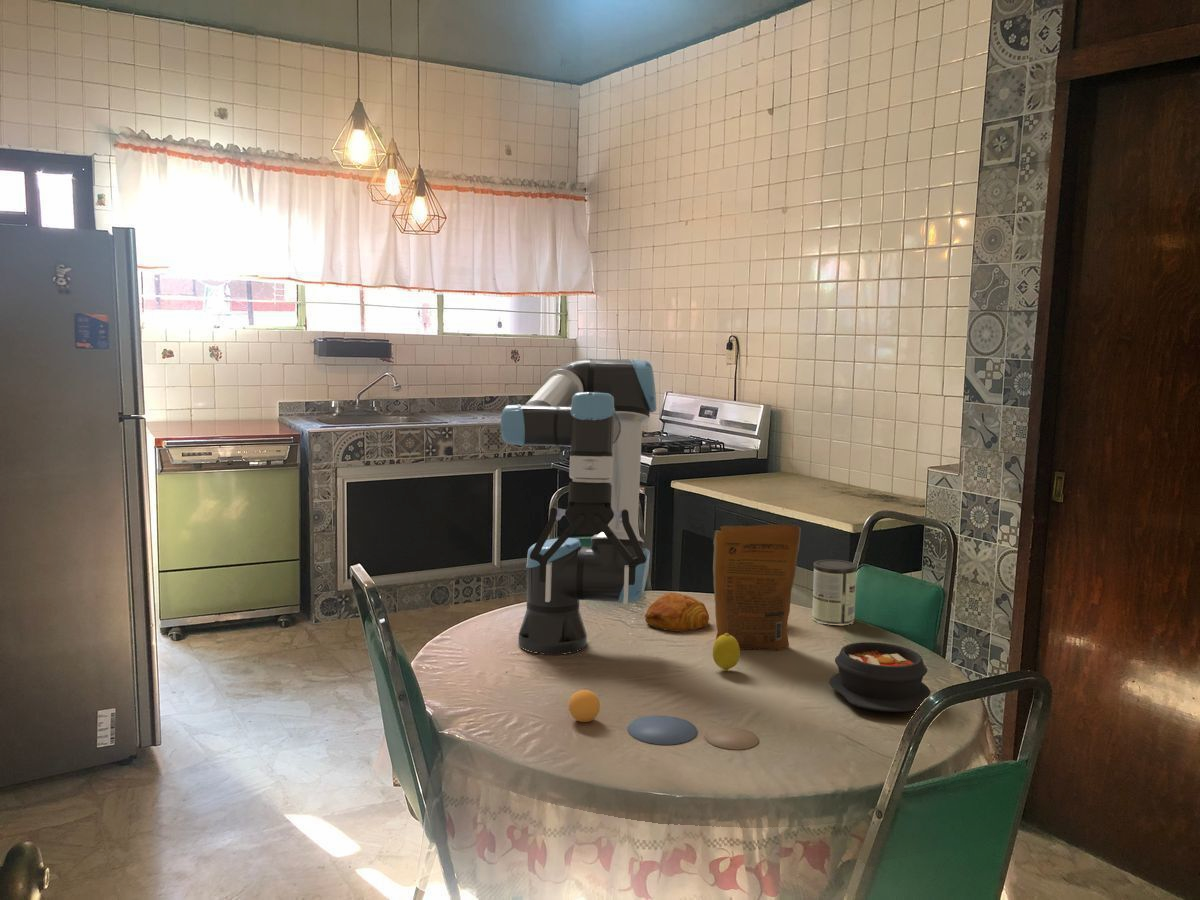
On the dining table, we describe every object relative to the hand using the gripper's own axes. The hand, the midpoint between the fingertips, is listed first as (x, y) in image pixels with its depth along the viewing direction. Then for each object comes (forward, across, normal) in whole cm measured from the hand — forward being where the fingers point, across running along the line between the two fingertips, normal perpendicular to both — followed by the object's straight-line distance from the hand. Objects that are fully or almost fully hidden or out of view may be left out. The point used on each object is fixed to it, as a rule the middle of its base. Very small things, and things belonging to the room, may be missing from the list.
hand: (586, 602), depth 163 cm
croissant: (+15, +19, +61) cm, 66 cm away
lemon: (+18, +28, +29) cm, 44 cm away
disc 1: (+21, +14, -2) cm, 25 cm away
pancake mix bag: (+16, +36, +44) cm, 59 cm away
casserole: (+19, +56, +18) cm, 62 cm away
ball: (+18, 0, +1) cm, 18 cm away
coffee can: (+13, +58, +67) cm, 90 cm away
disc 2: (+22, +26, -4) cm, 34 cm away
